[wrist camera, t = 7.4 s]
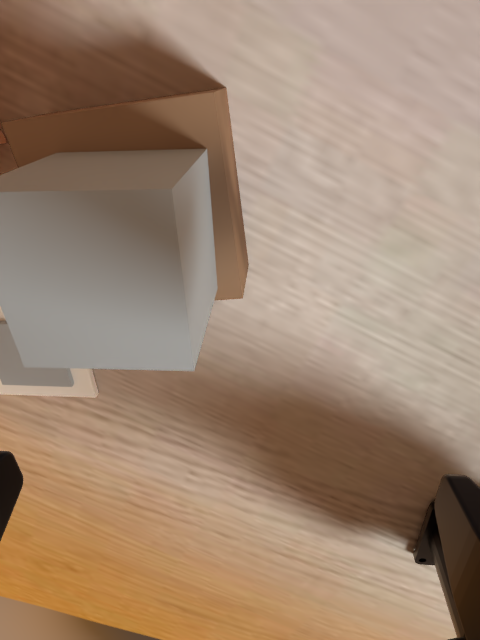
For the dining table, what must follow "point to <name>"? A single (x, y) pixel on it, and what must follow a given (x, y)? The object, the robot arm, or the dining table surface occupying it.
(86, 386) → the swatch
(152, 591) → the dining table surface
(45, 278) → the grey cube
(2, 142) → the terracotta cube
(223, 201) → the brown square block
